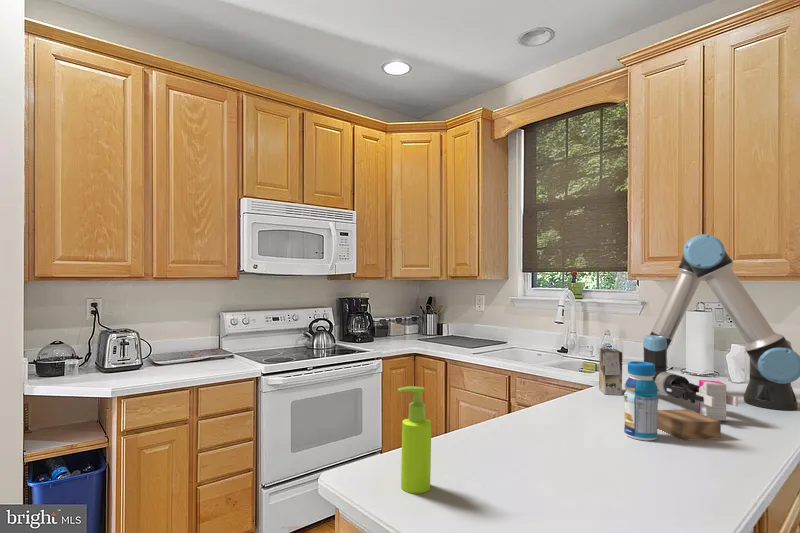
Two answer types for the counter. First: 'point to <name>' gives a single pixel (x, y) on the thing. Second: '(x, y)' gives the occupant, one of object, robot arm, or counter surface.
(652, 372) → the beverage bottle
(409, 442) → the soap dispenser
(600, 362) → the coffee box
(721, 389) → the supplement box
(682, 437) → the oak riser block
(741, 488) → the counter surface
